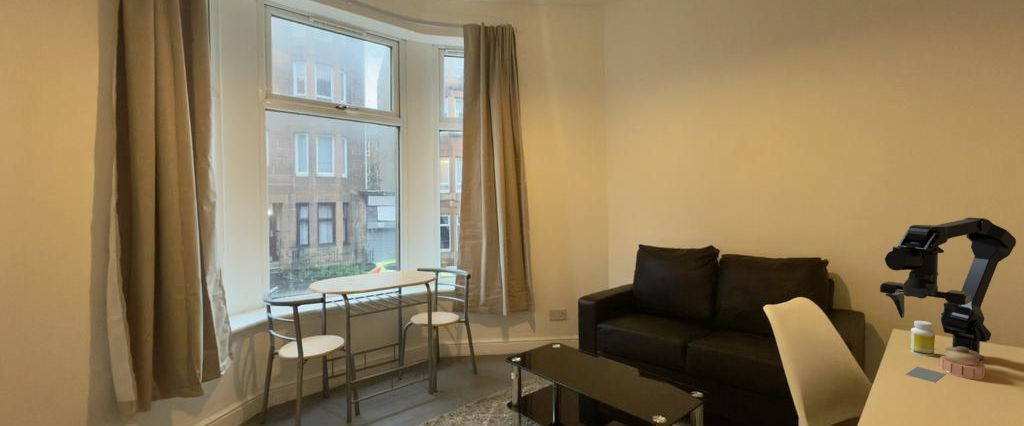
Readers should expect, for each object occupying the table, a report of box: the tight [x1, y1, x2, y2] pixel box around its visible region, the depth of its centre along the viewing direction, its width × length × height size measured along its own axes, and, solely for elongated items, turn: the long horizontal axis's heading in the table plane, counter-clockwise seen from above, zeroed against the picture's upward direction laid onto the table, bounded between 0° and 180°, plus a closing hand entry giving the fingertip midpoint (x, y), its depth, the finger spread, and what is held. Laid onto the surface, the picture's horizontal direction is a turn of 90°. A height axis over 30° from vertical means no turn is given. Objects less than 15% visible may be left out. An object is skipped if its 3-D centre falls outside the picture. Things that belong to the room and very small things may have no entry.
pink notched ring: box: [939, 355, 986, 380], centre depth 121 cm, size 8×8×4 cm
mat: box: [905, 366, 947, 383], centre depth 120 cm, size 9×6×1 cm, turn 122°
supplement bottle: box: [909, 320, 936, 357], centre depth 135 cm, size 5×5×10 cm
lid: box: [945, 346, 980, 366], centre depth 121 cm, size 6×6×4 cm
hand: (922, 321), depth 129 cm, fingers open, 9 cm apart
